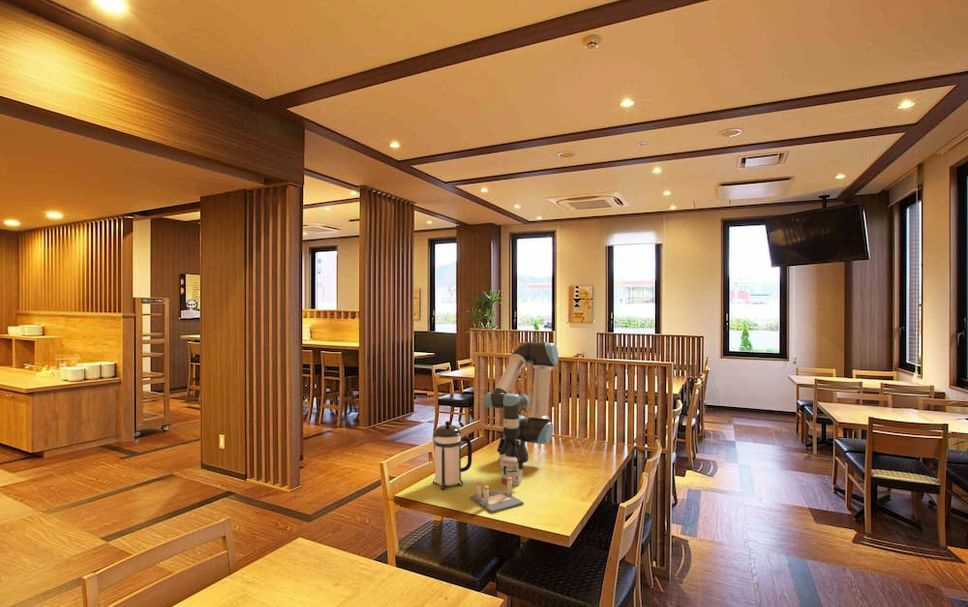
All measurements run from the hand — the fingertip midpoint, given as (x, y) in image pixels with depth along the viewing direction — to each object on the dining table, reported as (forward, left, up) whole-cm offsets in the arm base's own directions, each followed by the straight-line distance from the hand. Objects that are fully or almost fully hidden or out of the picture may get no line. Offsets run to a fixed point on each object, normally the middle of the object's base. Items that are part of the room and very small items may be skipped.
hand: (511, 471), depth 231 cm
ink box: (0, 0, -6) cm, 6 cm away
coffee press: (-15, -25, -6) cm, 30 cm away
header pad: (+14, -18, -5) cm, 23 cm away
